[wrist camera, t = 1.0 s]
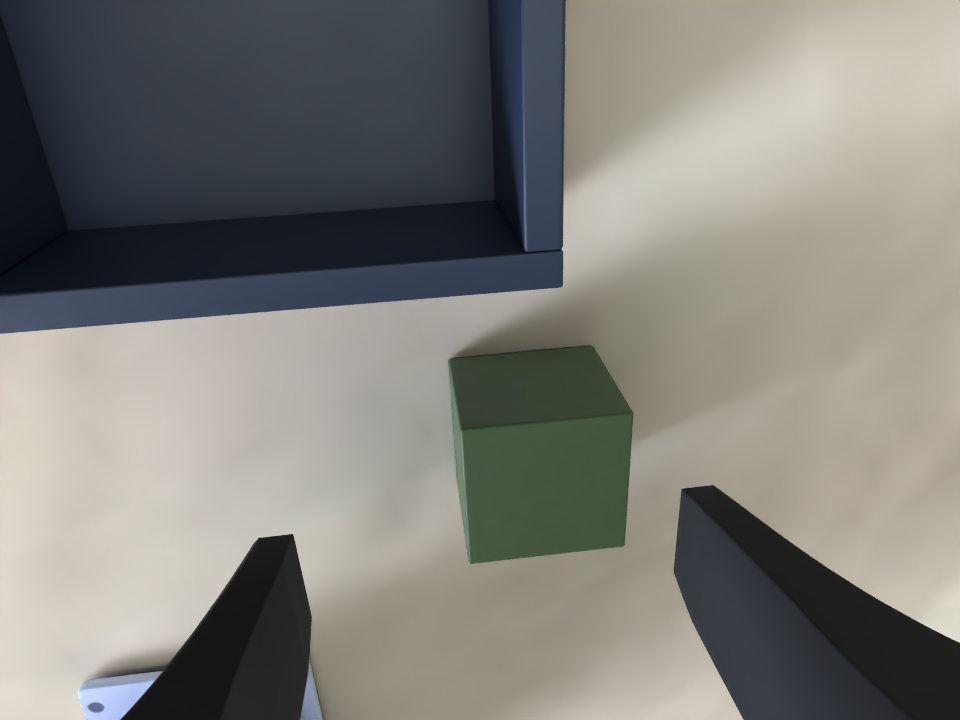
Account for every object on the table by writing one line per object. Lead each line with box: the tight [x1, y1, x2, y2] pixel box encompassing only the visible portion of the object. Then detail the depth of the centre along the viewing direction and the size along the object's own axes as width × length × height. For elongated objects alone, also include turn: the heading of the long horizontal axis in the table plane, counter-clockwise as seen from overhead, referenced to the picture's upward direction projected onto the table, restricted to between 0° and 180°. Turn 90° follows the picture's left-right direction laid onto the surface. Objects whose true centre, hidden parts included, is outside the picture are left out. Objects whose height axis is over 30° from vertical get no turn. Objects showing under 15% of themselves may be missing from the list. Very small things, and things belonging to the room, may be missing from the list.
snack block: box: [448, 346, 633, 564], centre depth 20 cm, size 4×4×4 cm
